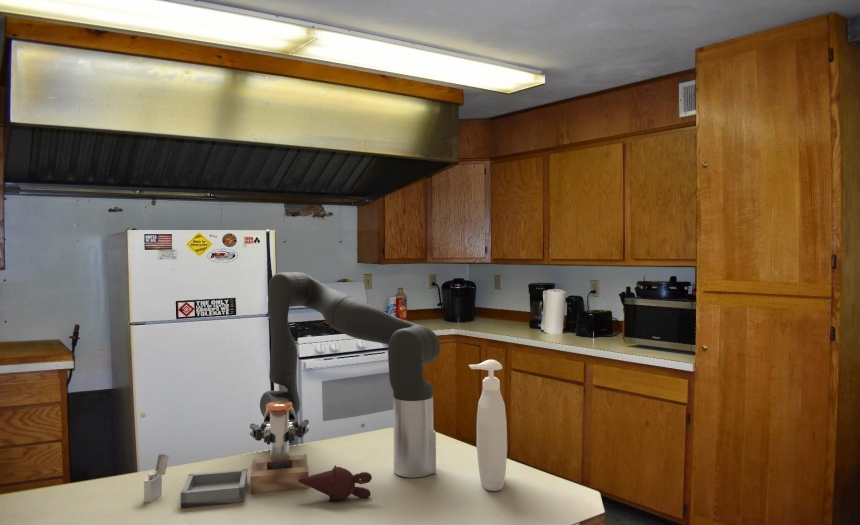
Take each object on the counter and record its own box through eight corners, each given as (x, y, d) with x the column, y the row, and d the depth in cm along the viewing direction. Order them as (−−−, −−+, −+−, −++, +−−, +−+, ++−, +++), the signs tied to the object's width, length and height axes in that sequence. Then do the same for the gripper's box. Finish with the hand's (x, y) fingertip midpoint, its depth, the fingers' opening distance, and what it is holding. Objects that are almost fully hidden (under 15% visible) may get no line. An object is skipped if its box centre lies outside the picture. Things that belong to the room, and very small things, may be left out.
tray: (247, 482, 133) (247, 469, 133) (244, 502, 123) (244, 487, 123) (189, 488, 131) (189, 474, 131) (180, 508, 120) (180, 493, 120)
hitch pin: (292, 475, 138) (291, 400, 138) (293, 483, 133) (292, 406, 132) (267, 477, 137) (266, 402, 137) (266, 486, 131) (265, 408, 131)
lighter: (151, 502, 123) (151, 462, 123) (143, 502, 123) (143, 462, 123) (169, 489, 130) (168, 452, 130) (161, 489, 130) (161, 451, 130)
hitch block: (306, 469, 142) (306, 454, 142) (308, 487, 130) (308, 471, 130) (253, 473, 139) (252, 458, 139) (250, 493, 127) (250, 476, 127)
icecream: (294, 476, 120) (370, 482, 119) (303, 455, 127) (374, 460, 127) (293, 506, 121) (368, 512, 121) (302, 484, 128) (372, 489, 128)
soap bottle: (468, 472, 139) (466, 354, 139) (503, 472, 139) (502, 354, 139) (472, 497, 124) (470, 365, 124) (511, 496, 124) (510, 365, 124)
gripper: (249, 405, 147) (245, 424, 130) (309, 402, 150) (312, 419, 133) (249, 436, 147) (245, 459, 130) (309, 432, 150) (313, 453, 134)
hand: (279, 439), depth 132 cm, fingers closed on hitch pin, 4 cm apart
